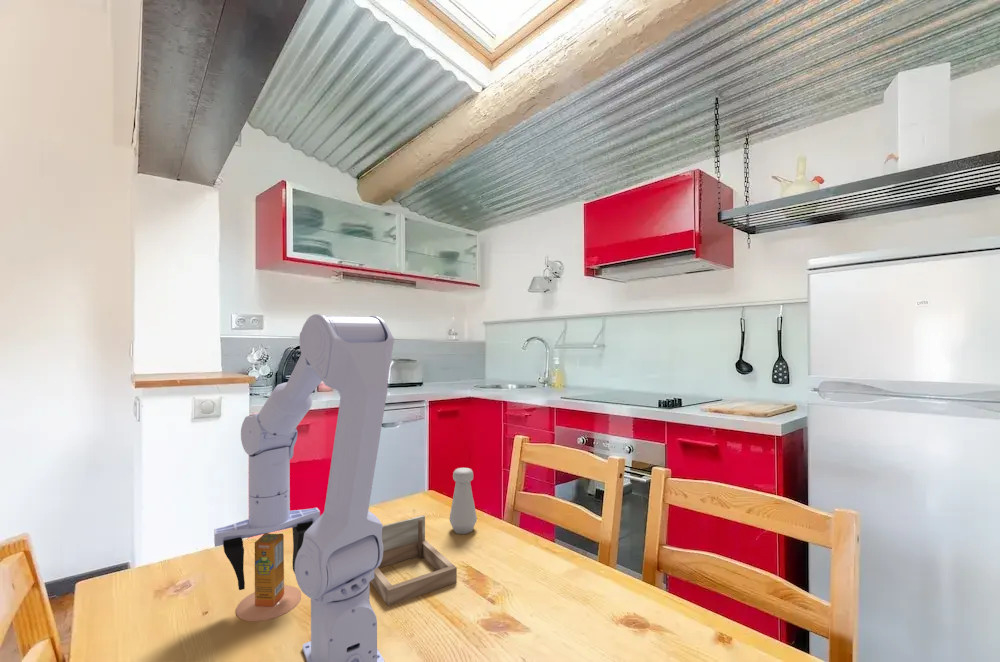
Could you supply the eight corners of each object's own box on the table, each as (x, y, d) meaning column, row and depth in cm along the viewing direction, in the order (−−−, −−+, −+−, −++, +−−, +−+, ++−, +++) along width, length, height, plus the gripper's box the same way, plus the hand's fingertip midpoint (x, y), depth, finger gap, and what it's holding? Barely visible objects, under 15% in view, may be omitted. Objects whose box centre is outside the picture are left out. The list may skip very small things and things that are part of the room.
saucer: (306, 609, 69) (306, 605, 69) (238, 631, 64) (238, 627, 64) (295, 582, 77) (295, 579, 77) (233, 600, 72) (233, 597, 72)
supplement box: (252, 607, 69) (252, 541, 69) (265, 594, 72) (265, 531, 72) (273, 608, 69) (273, 542, 69) (285, 595, 72) (285, 532, 72)
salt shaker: (472, 537, 93) (472, 474, 93) (446, 534, 95) (446, 472, 95) (479, 525, 99) (479, 466, 99) (454, 523, 100) (454, 464, 100)
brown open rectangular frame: (456, 582, 77) (456, 540, 77) (388, 606, 70) (388, 561, 70) (423, 551, 87) (423, 515, 87) (361, 570, 81) (361, 530, 81)
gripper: (313, 476, 78) (313, 555, 78) (213, 493, 70) (213, 581, 70) (323, 487, 72) (323, 573, 72) (215, 507, 64) (215, 604, 64)
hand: (269, 578), depth 70 cm, fingers open, 7 cm apart
